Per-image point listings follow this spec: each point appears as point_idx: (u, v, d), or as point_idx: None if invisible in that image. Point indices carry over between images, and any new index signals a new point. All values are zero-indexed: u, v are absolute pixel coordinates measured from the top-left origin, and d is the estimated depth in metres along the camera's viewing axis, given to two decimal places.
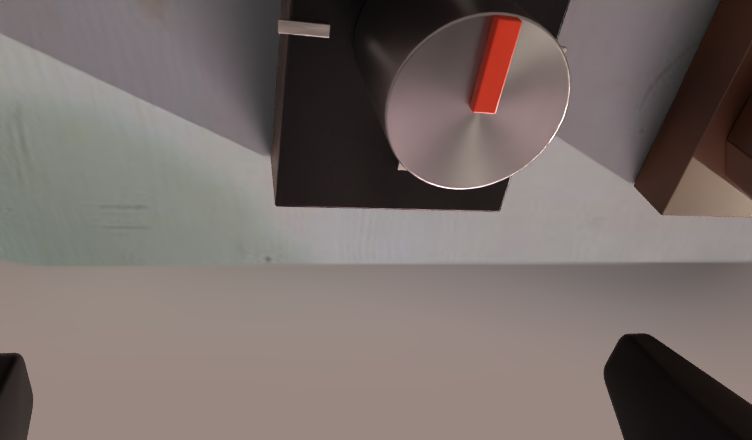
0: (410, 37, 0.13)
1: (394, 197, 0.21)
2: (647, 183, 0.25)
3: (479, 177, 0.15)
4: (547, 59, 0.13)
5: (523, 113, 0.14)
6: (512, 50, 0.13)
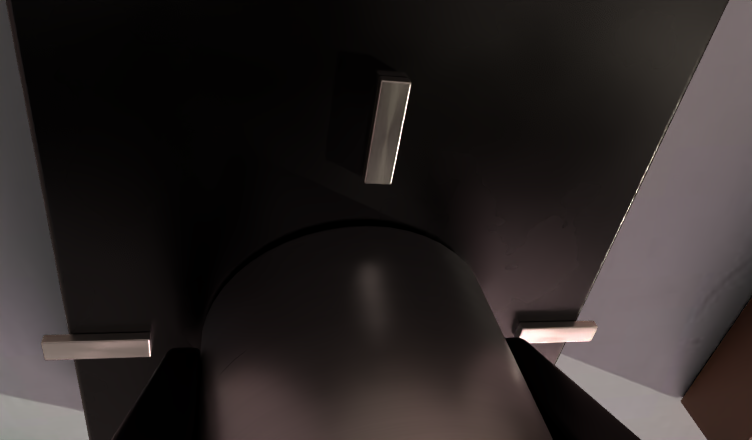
0: None
1: None
2: (702, 408, 0.17)
3: None
4: None
5: None
6: None
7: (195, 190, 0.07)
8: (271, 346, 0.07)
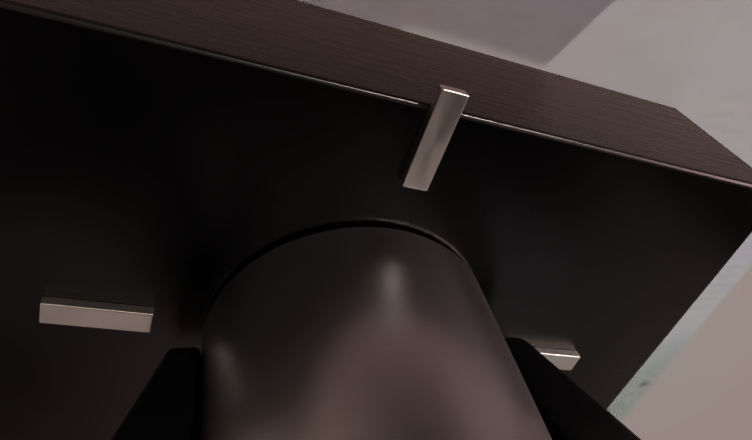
0: None
1: (622, 364, 0.11)
2: None
3: None
4: None
5: None
6: None
7: None
8: (270, 347, 0.07)
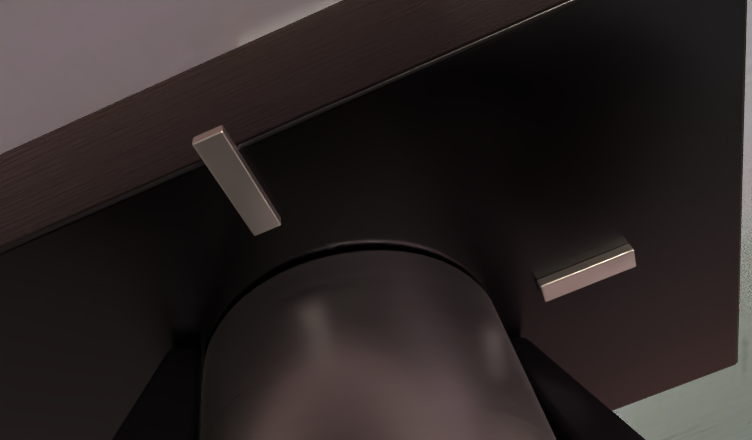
0: None
1: (708, 222, 0.09)
2: None
3: None
4: None
5: None
6: None
7: None
8: (280, 380, 0.06)
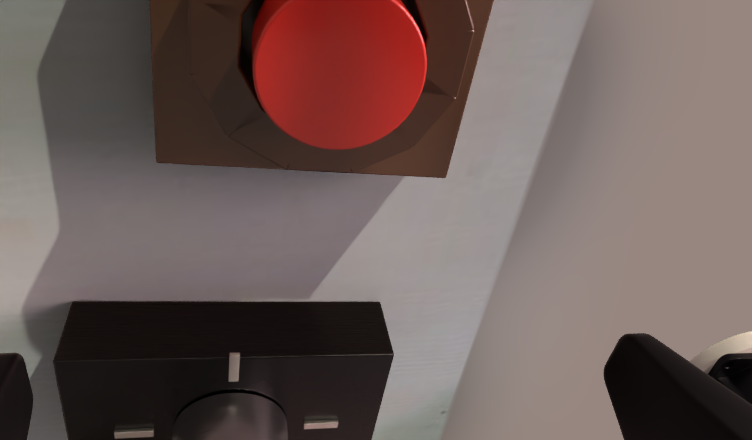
0: None
1: (364, 421, 0.25)
2: None
3: None
4: None
5: None
6: None
7: None
8: (224, 431, 0.21)
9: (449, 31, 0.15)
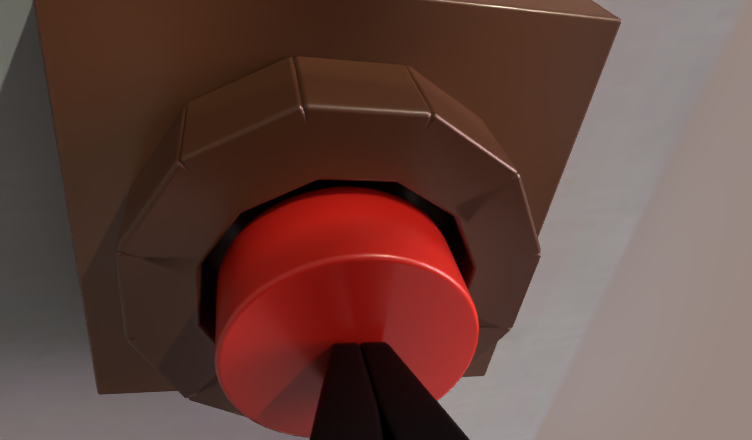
0: None
1: None
2: None
3: None
4: None
5: None
6: None
7: None
8: None
9: (505, 258, 0.10)
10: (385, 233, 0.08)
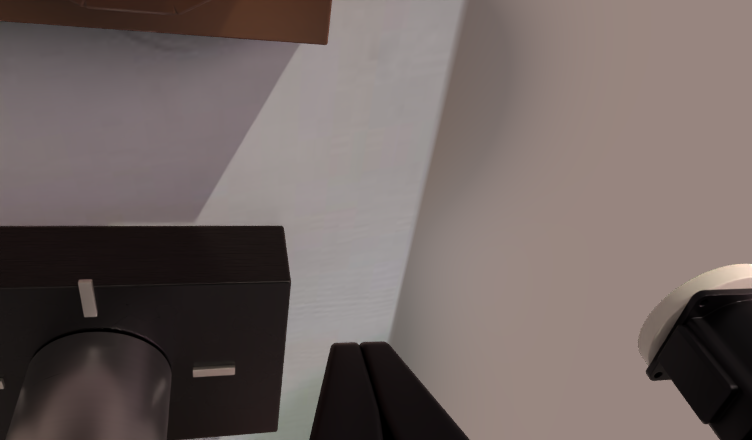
0: None
1: (268, 366, 0.22)
2: None
3: None
4: None
5: None
6: None
7: None
8: (73, 375, 0.17)
9: None
10: None
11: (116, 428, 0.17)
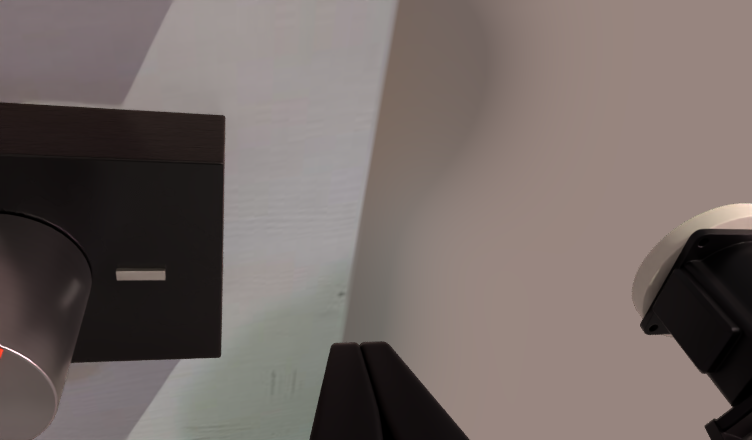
0: None
1: (205, 273, 0.19)
2: None
3: None
4: (33, 384, 0.14)
5: (2, 414, 0.15)
6: None
7: None
8: None
9: None
10: None
11: (1, 308, 0.14)
